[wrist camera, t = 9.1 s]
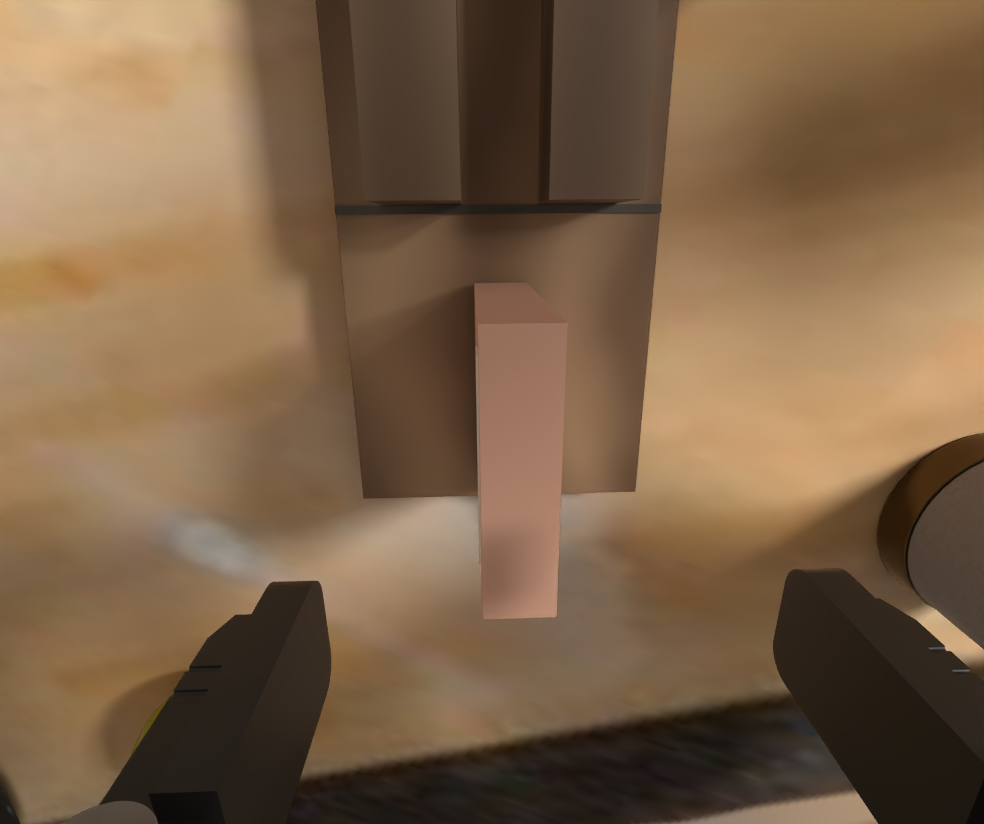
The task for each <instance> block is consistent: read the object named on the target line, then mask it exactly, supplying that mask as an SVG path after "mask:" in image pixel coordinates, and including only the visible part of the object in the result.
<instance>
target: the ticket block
mask: <svg viewBox="0 0 984 824" xmlns="http://www.w3.org/2000/svg"><path fill="white" fill-rule="evenodd" d="M678 4H679V0H316V8H317V18H318V28H319V39H320V49H321V60H322V70H323V80H324V91H325V101H326V112H327V122H328V133H329V143H330V153H331V164H332V174H333V185H334V195H335V205H336V206H335V212H336V216H337V226H338V237H339V247H340V258H341V268H342V278H343V289H344V299H345V310H346V320H347V331H348V341H349V351H350V362H351V372H352V383H353V393H354V403H355V414H356V424H357V435H358V445H359V456H360V466H361V476H362V487H363V497H364V499H365V498H403V497H442V496H478V466H477V410H476V355H475V299H474V283H528V284H529V285H530V286H531V287H532V288H533V289H534V290H535V291H536V292H537V293H538V294H539V295H540V296H541V297H542V298H543V299H544V300H545V301H546V302H547V303H548V304H549V305H550V306H551V307H552V308H553V309H554V310H555V311H556V312H557V313H558V314H559V315H560V316H561V317H562V318H563V319H564V320H565V321H566V322H567V323H568V328H567V354H566V380H565V406H564V432H563V458H562V484H561V493H596V492H634V491H635V488H636V477H637V465H638V454H639V443H640V432H641V420H642V409H643V398H644V387H645V375H646V364H647V353H648V342H649V330H650V319H651V308H652V297H653V285H654V274H655V263H656V251H657V240H658V229H659V218H660V212H661V205H662V204H661V195H662V184H663V173H664V161H665V150H666V139H667V128H668V116H669V105H670V94H671V82H672V71H673V60H674V49H675V37H676V26H677V15H678Z"/></svg>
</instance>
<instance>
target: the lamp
mask: <svg viewBox="0 0 984 824" xmlns="http://www.w3.org/2000/svg"><path fill="white" fill-rule="evenodd" d="M878 547H879V552H880V556H881V558H882V561H883V563H884V565H885V567H886V568H887V569H888V571H889V572H890V574H891V575H892V576H894V577H895V578H896V579H897V580H898V581H899V582H900V583H901V584H903V585H904V586H905V587H906V588H907V589H909V590H910V591H911V592H912V593H913V594H915V595H916V596H917V597H918V598H919V599H921V600H922V601H923V602H925V603H926V604H928V605H930V606H931V607H933V608H935V609H936V610H937V611H938V612H940V613H941V614H942V615H943V616H944V617H946V618H947V619H948V620H949V621H950V622H951V623H953V624H954V625H955V626H956V627H957V628H959V629H960V630H961V631H962V632H963V633H965V634H966V635H967V636H968V637H969V638H971V639H972V640H973V641H974V642H976V643H977V644H978V645H979V646H980V647H982V648H983V649H984V433H982V434H977V435H973V436H969V437H965V438H962V439H960V440H957V441H954V442H952V443H949V444H948V445H946V446H944V447H942V448H940V449H938V450H936V451H934V452H933V453H932V454H930V455H929V456H927V457H926V458H924V459H923V460H921V461H920V462H919V463H918V464H917V465H916V466H915V467H913V468H912V469H911V470H910V471H909V472H908V473H907V474H906V475H905V476H904V478H903V479H902V480H901V481H900V482H899V483H898V485H897V486H896V488H895V489H894V491H893V492H892V493H891V495H890V497H889V499H888V501H887V503H886V505H885V507H884V509H883V512H882V515H881V518H880V522H879V528H878Z"/></svg>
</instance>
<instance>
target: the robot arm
mask: <svg viewBox="0 0 984 824" xmlns="http://www.w3.org/2000/svg"><path fill="white" fill-rule="evenodd" d="M773 652H774V659H775V663H776V666H777V669H778V672H779V674H780V676H781V678H782V680H783V682H784V684H785V685H786V686H787V688H788V689H789V691H790V692H791V694H792V695H793V697H794V698H795V700H796V701H797V703H798V704H799V706H800V707H801V709H802V710H803V712H804V713H805V715H806V716H807V718H808V719H809V721H810V722H811V724H812V725H813V727H814V728H815V730H816V731H817V733H818V734H819V736H820V737H821V739H822V740H823V742H824V743H825V745H826V746H827V748H828V749H829V751H830V752H831V754H832V755H833V757H834V758H835V760H836V761H837V763H838V764H839V766H840V767H841V769H842V770H843V772H844V773H845V775H846V776H847V778H848V779H849V781H850V782H851V784H852V785H853V787H854V788H855V790H856V791H857V793H858V794H859V796H860V797H861V798H862V800H863V801H864V803H865V804H866V806H867V807H868V809H869V810H870V812H871V813H872V815H873V816H874V818H875V819H876V821H877V822H878V824H984V681H983V680H982V679H981V678H980V677H979V676H978V675H976V674H971V673H970V671H969V667H968V666H966V665H965V664H964V663H963V662H962V661H961V660H960V659H959V658H958V657H957V656H955V655H954V654H953V653H952V652H951V651H946V650H945V646H944V645H943V644H942V643H941V642H940V641H939V640H938V639H937V638H935V637H934V636H933V635H932V634H931V633H930V632H929V631H928V630H927V629H925V628H924V627H923V626H922V625H921V624H920V623H919V622H918V621H917V620H915V619H914V618H912V617H910V616H908V615H907V614H905V613H903V612H902V611H900V610H898V609H897V608H895V607H893V606H891V605H890V604H888V603H886V602H885V601H883V600H881V599H880V598H878V599H875V598H874V597H873V596H872V595H871V594H870V593H869V592H868V591H867V590H866V589H865V588H864V587H863V586H862V585H861V584H860V583H858V582H857V581H856V580H855V579H854V578H853V577H852V576H851V575H850V574H849V573H847V572H846V571H844V570H843V569H839V568H830V569H795V570H792V571H791V572H790V573H789V574H788V576H787V578H786V581H785V586H784V591H783V596H782V601H781V606H780V611H779V616H778V621H777V625H776V630H775V635H774V641H773ZM189 667H190V669H189V672H186V673H185V674H184V676H183V677H182V679H181V680H180V682H179V683H178V685H177V686H176V688H175V689H174V695H173V697H169V699H168V700H167V702H166V703H165V705H164V706H163V708H162V710H161V711H160V713H159V714H158V716H157V717H156V719H155V720H154V722H153V723H152V725H151V726H150V728H149V730H148V731H147V733H146V734H145V736H144V737H143V739H142V740H141V742H140V743H139V745H138V746H137V748H136V750H135V751H134V753H133V754H132V756H131V757H130V759H129V760H128V762H127V763H126V765H125V767H124V768H123V770H122V771H121V773H120V774H119V776H118V777H117V779H116V780H115V782H114V783H113V785H112V787H111V788H110V790H109V791H108V793H107V794H106V796H105V797H104V799H103V800H102V801H101V803H100V804H99V805H98V806H95V807H93V808H90V809H87V810H85V811H83V812H81V813H79V814H77V815H75V816H73V817H71V818H70V819H68V820H66V821H65V822H63V823H61V824H286V820H287V817H288V814H289V811H290V808H291V805H292V802H293V799H294V795H295V792H296V789H297V786H298V783H299V780H300V777H301V773H302V770H303V767H304V764H305V761H306V758H307V755H308V751H309V748H310V745H311V742H312V739H313V736H314V733H315V729H316V726H317V723H318V720H319V717H320V714H321V711H322V707H323V704H324V701H325V698H326V695H327V691H328V687H329V681H330V674H331V650H330V643H329V636H328V628H327V621H326V614H325V607H324V600H323V593H322V588H321V585H320V583H319V582H318V581H289V582H272V583H270V584H269V585H268V587H267V588H266V590H265V592H264V593H263V595H262V597H261V599H260V600H259V602H258V604H257V606H256V607H255V609H254V611H253V613H252V614H248V615H235V616H234V617H232V618H231V619H230V620H229V621H228V622H227V623H225V624H224V625H223V626H222V627H221V628H219V629H218V630H217V631H216V632H215V633H213V634H212V635H211V636H210V637H209V638H208V639H207V640H206V642H205V643H204V645H203V646H202V648H201V649H200V651H199V652H198V654H197V656H196V657H195V659H194V660H193V662H192V663H191V665H190V666H189Z"/></svg>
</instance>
